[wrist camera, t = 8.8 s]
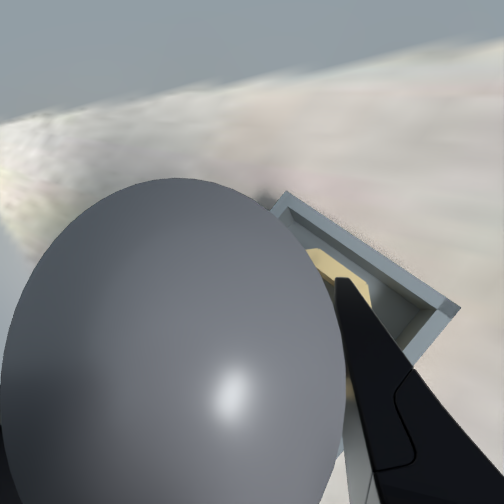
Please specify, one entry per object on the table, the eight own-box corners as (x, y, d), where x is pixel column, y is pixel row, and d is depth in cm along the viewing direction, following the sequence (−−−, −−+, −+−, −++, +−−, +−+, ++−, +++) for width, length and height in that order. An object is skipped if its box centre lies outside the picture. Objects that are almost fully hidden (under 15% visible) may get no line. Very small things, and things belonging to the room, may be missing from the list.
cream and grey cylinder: (276, 375, 14) (20, 652, 3) (246, 301, 16) (-13, 267, 4) (351, 344, 14) (453, 536, 2) (313, 269, 15) (240, 115, 3)
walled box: (320, 449, 18) (316, 492, 14) (200, 324, 22) (168, 328, 18) (437, 308, 18) (470, 307, 13) (293, 208, 22) (283, 184, 18)
